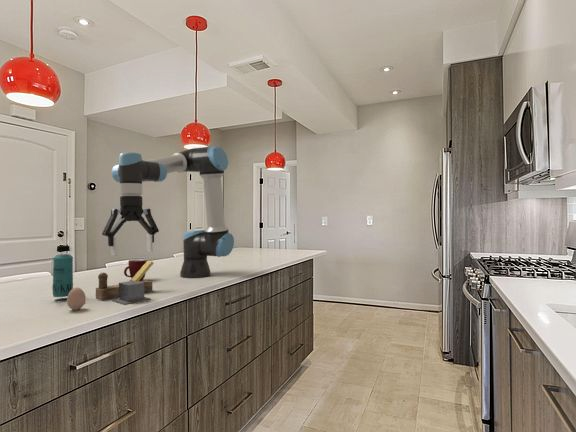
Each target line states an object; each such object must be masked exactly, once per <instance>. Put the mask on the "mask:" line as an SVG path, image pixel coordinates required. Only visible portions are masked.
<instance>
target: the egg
mask: <svg viewBox="0 0 576 432" xmlns="http://www.w3.org/2000/svg"><path fill="white" fill-rule="evenodd" d="M66 297H67V298H66V304H67V306H68V307H69V309H71V310H72V311H78V310H80V309H82V308H83V307H84V305H85V303H86V299H87V298H86V294H85V292H84V291H83V289H82V288H80V287H73V289H72V290H71V291H70V292H69V294H68V296H66Z"/></svg>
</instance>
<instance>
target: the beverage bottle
mask: <svg viewBox="0 0 576 432" xmlns="http://www.w3.org/2000/svg"><path fill="white" fill-rule="evenodd" d="M70 251H71V248H70V245H65V244H63V245H58V246H56V252H58V253H59V252H61V254H55V256H54V257H53V258H52V260H53V261H52V263H53V265H52V266H53V269H52V295H53V297H54V298H64V297H67V296H68V294H69V292H70V291H71V290H72V289H73V288H74V258H73V255H71V254H69V253H67V254H66V253H65V254H64V253H63V254H62V252H70Z"/></svg>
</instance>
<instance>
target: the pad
mask: <svg viewBox="0 0 576 432" xmlns="http://www.w3.org/2000/svg"><path fill="white" fill-rule="evenodd" d="M146 301H151V298H150V297H146V296H144V299H142V300H137V301H132V302H126V301H123V300H120V299H119V298H114V299H111V302H114V303H117V304H120V305H124V306H126V305H130V304H136V303H140V302H146Z"/></svg>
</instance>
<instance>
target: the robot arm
mask: <svg viewBox="0 0 576 432" xmlns="http://www.w3.org/2000/svg"><path fill="white" fill-rule="evenodd" d="M118 157H119V159H118V164H115V165H114V166H113V167H112V169H111V175H112V179H113V180H114V181H115V182H117V183H119V194H120V195H121V196H120V197H119V206H120V208H119V209H117V208H112V209H111V210H110V216H109V218H108V220H107V222H106V225H105V226H104V229H103V230H102V233H101V235H102V236H104V237H107V243H108V245H107V246H108V247H110V256H112V257H117V255H118V251H117V249H118V248H117V247H118V246H117V236H115V235H116V234H117V233H118V232H119V231H120V230H121V228H122V226H123V225H124V224H125V223H126V222H135V221H136V222H138V223H139V224H140V225H141V226H142V227H143V229H144V230H145V231H146V232H147V233H146V252H148V253H153V244H154V243H155V235H156V234H157V233H159V232H160V230H159V228H158V226H157V223H156V222H155V219H154V218H153V216H152V212H151V211H152V209H150V208H144V209H143V196H142V195H143V182H144V183H145V182H154V183H156V182H159V183H160V182H163V181H164V180H166V178H167V176H168V174H170V173H171V174H172V173H175V172H176V173H184V172H185V173H187V172H191V173H195V172H196V173H197V172H198V173H199V176H200V177H201V178H202V179H203V192H204V202H205V212H206V213H205V215H206V225H207V227H206V228H205V229H202V230H201V229H199V230H191V231H185V232H184V234H183V263H182V266H181V269H180V271H179V276H180V277H181V278H187V279H192V278H194V279H195V278H204V277H209V276H211V269H210V265H209V263H208V257H218V258H220V257H221V258H222V257H228V256H229V255H230V254H231V253H232V251H233V249H234V246H235V238H234V236H233V234H232V233H231V232H229V228H228V227H227V226H226V223H225V210H224V197H223V183H222V177H223V176H224V175H225V170H227V169H228V165H229V160H228V159H229V158H228V156H227V153H226V152H225V150H224V149H223V148H222V147H220V146H217V145H216V146H215V145H214V146H213V145H212V146H210V145H209V146H204V147H203V146H202V147H194V148H193V147H192V148H190V149H189V148H188V149H185V150H181V151H179V152H178V151H177V152H174V153H173V154H172V155H168V156H163V157H157V158H156V157H155V158H152V159H145V160H143V158H142V154H140V153H137V152H131V151H130V152H129V151H128V152H122V153H120V154H119V156H118ZM119 215H120V217H119V218H118V216H119ZM142 215H144V216H145V218H146V220H145V218H144V216H142ZM117 219H118V221H117V222H116V220H117ZM115 222H116V223H115ZM114 224H115V225H114Z"/></svg>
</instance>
